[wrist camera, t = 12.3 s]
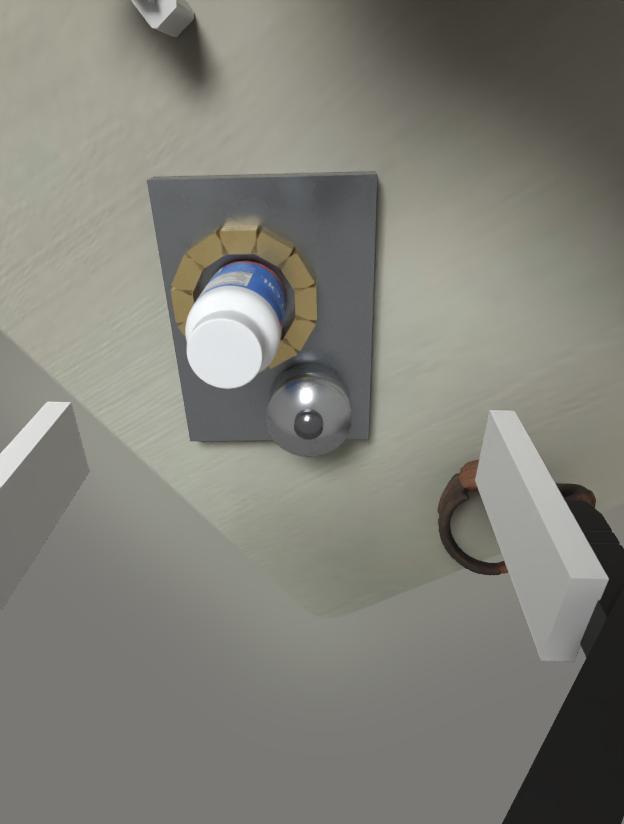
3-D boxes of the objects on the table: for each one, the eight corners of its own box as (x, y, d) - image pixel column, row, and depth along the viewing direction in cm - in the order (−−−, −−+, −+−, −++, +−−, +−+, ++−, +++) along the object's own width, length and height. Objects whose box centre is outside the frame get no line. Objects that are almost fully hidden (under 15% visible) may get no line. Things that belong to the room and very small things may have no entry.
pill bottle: (295, 327, 37) (287, 394, 29) (221, 342, 38) (192, 411, 29) (276, 249, 35) (261, 297, 26) (197, 266, 35) (157, 318, 27)
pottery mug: (481, 553, 51) (460, 599, 44) (436, 463, 51) (407, 496, 44) (616, 517, 44) (616, 565, 37) (563, 414, 44) (554, 443, 37)
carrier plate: (154, 177, 34) (127, 189, 29) (375, 171, 34) (383, 182, 29) (194, 430, 44) (179, 469, 39) (367, 428, 43) (372, 468, 39)
